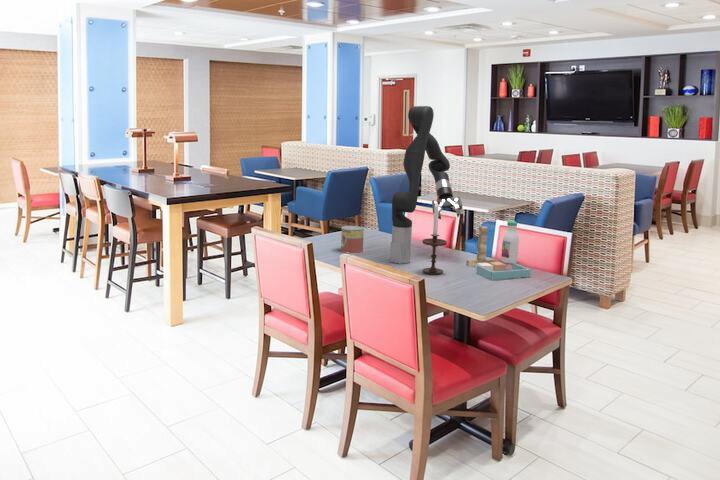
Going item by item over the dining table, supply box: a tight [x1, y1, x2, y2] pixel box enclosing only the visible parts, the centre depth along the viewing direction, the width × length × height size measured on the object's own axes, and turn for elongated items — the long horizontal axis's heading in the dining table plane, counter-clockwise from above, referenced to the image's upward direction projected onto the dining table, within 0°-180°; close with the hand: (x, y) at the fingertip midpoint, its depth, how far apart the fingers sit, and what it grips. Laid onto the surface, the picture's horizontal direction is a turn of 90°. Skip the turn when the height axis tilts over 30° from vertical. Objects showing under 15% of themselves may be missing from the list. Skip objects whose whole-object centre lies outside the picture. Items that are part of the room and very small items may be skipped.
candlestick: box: [421, 196, 448, 276], centre depth 285 cm, size 11×11×35 cm
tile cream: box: [475, 263, 494, 272], centre depth 295 cm, size 6×6×3 cm
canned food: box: [340, 225, 365, 255], centre depth 323 cm, size 11×11×12 cm
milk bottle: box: [500, 220, 520, 264], centre depth 310 cm, size 8×8×20 cm
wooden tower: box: [465, 225, 496, 268], centre depth 303 cm, size 3×14×18 cm, turn 112°
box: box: [476, 263, 532, 281], centre depth 287 cm, size 12×20×4 cm, turn 112°
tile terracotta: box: [489, 261, 507, 272], centre depth 298 cm, size 6×6×3 cm
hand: (449, 217), depth 305 cm, fingers open, 8 cm apart
